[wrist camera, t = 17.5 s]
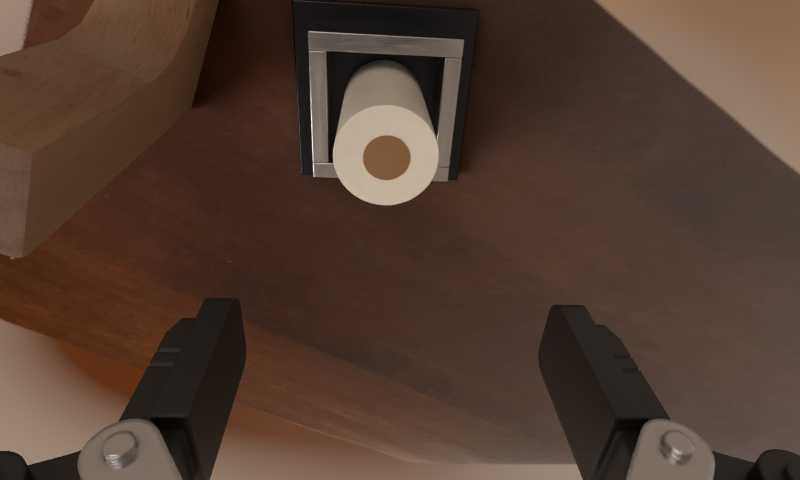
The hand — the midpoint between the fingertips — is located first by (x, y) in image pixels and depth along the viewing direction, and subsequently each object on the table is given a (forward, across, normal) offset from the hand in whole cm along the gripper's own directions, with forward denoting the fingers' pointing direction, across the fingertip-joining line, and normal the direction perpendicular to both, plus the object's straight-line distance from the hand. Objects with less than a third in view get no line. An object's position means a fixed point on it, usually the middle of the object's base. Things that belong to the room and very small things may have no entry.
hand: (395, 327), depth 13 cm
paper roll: (+22, 0, 0) cm, 22 cm away
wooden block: (+23, +13, -3) cm, 27 cm away
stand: (+23, 0, 0) cm, 23 cm away
